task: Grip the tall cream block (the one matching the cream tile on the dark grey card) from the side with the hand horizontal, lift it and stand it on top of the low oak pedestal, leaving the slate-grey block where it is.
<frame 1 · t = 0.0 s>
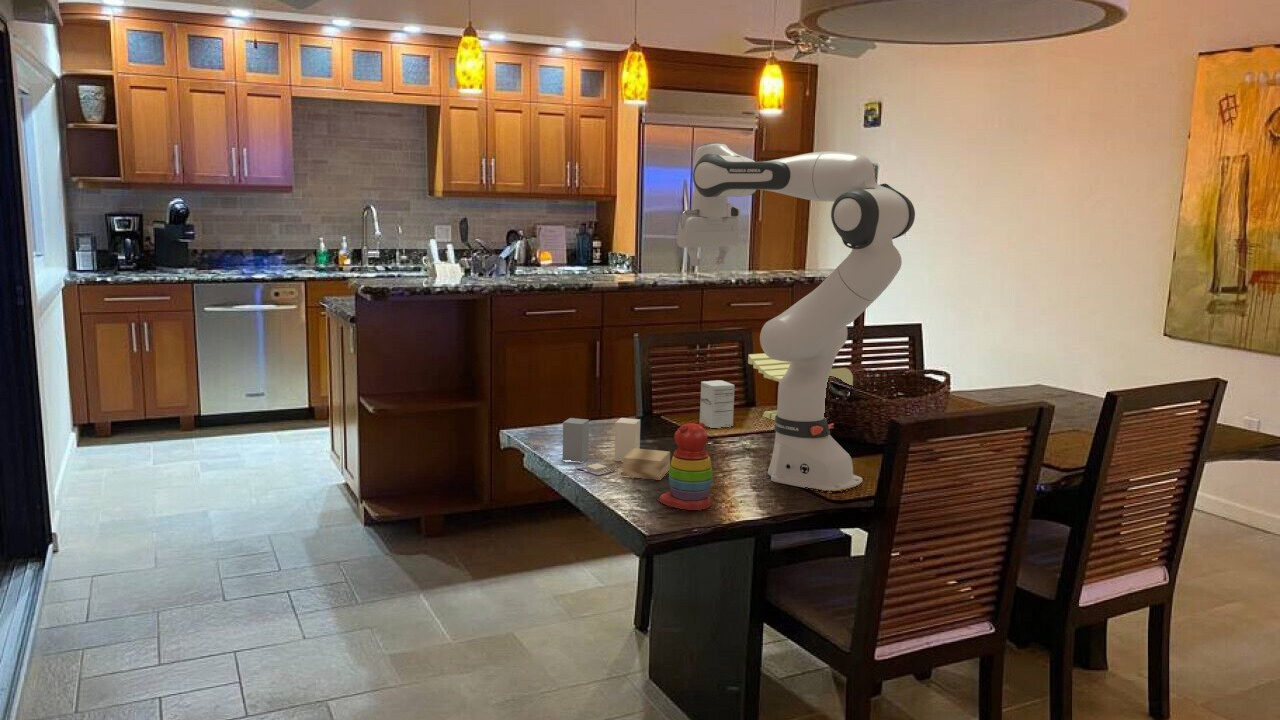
hand: (707, 265, 242), 48 cm above the table, tool pointing down, fingers open, 8 cm apart
cream block: (627, 459, 239), on the table
oak pedestal: (646, 475, 227), on the table
grey block: (575, 460, 237), on the table
supplement box: (716, 426, 277), on the table
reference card: (596, 470, 229), on the table
stacking bear: (688, 504, 205), on the table
slatted curved stool: (796, 419, 287), on the table
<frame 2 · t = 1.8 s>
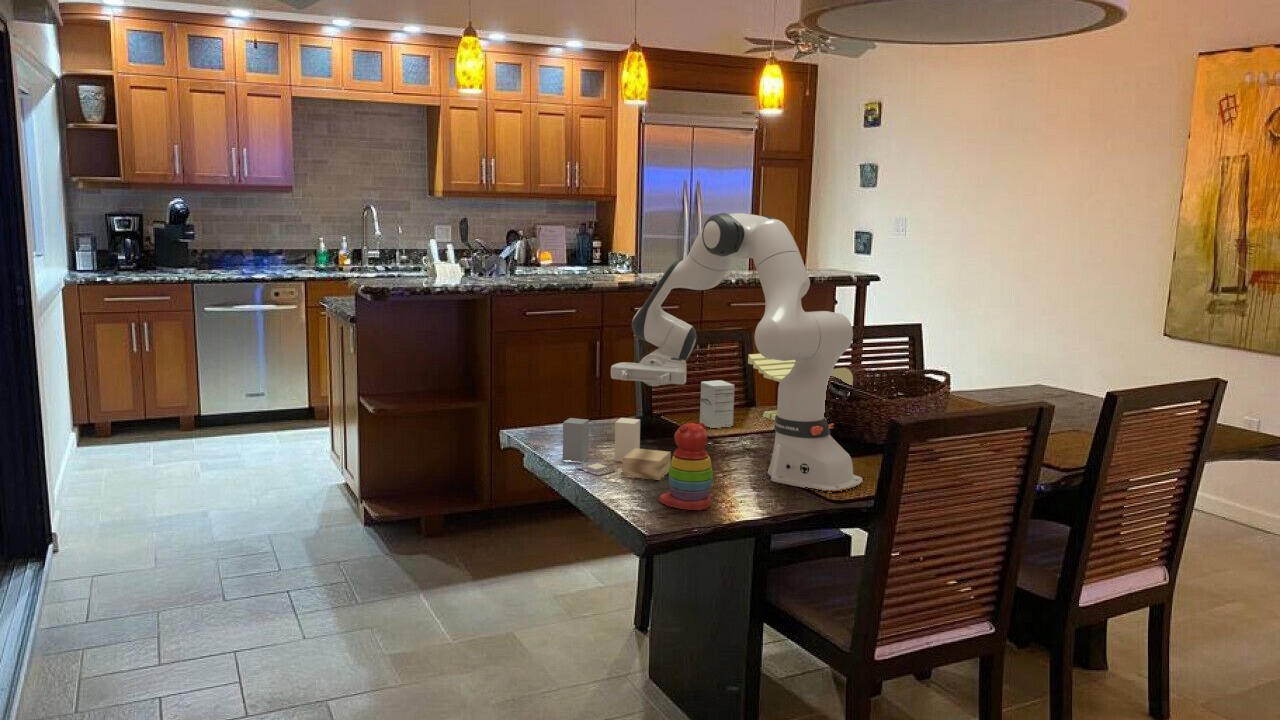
hand: (641, 378, 247), 18 cm above the table, tool horizontal, fingers open, 8 cm apart
nothing on the table moved.
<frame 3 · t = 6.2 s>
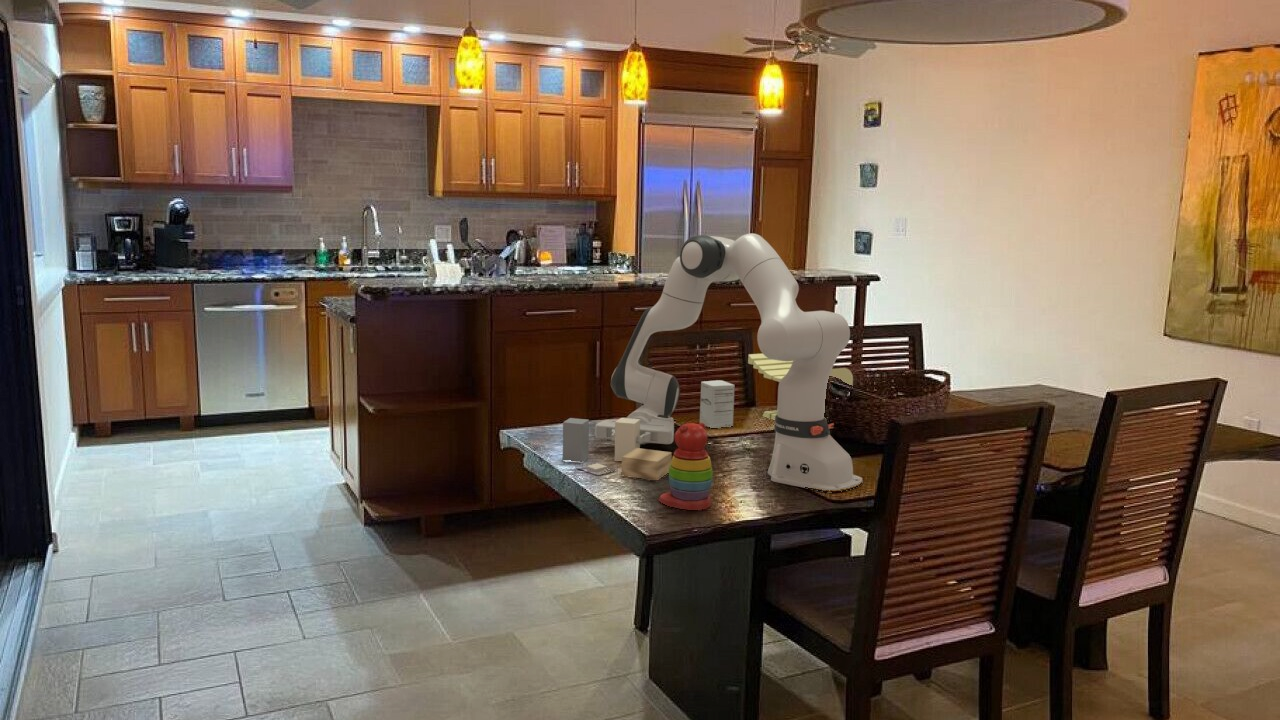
hand: (626, 439, 237), 6 cm above the table, tool horizontal, fingers closed on cream block, 5 cm apart
cream block: (627, 459, 239), on the table, touching gripper
everything else where it was.
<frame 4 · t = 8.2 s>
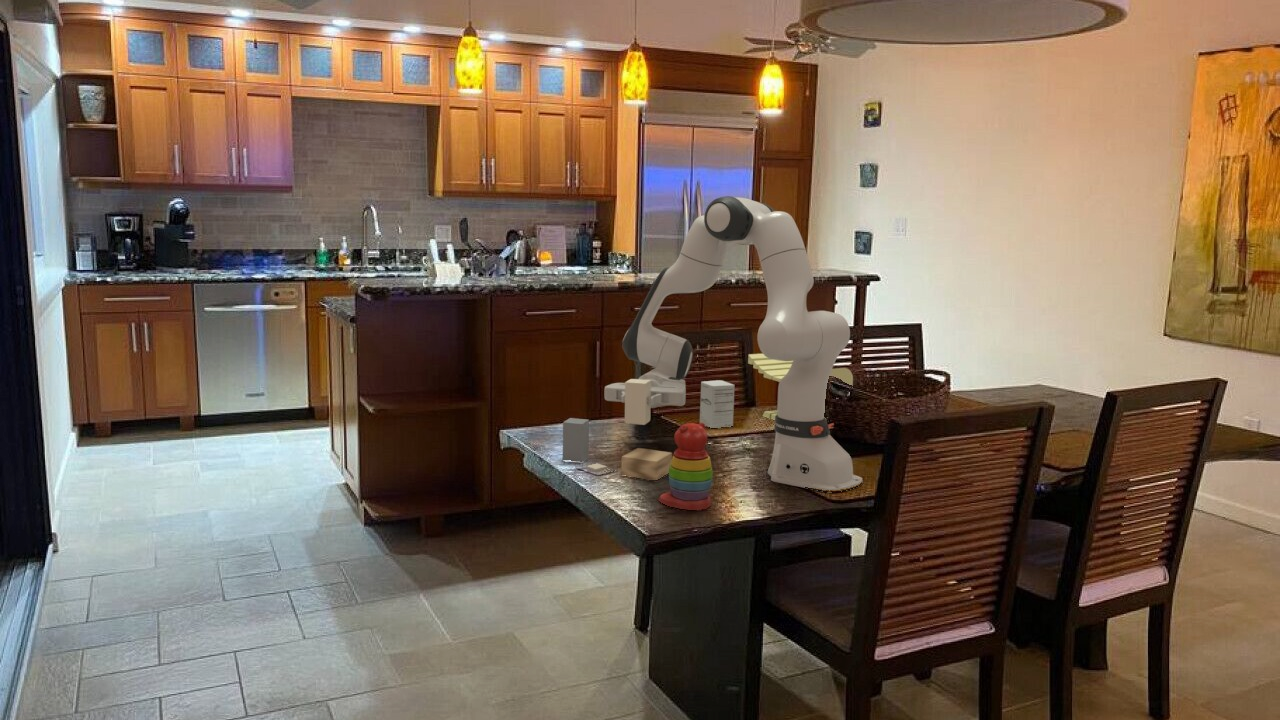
hand: (637, 400, 230), 17 cm above the table, tool horizontal, fingers closed on cream block, 5 cm apart
cream block: (637, 421, 231), point 11 cm above the table, touching gripper
everything else where it was.
when the fingers open (12 cm above the table, at t = 10.3 s): cream block drops 1 cm, resting on oak pedestal.
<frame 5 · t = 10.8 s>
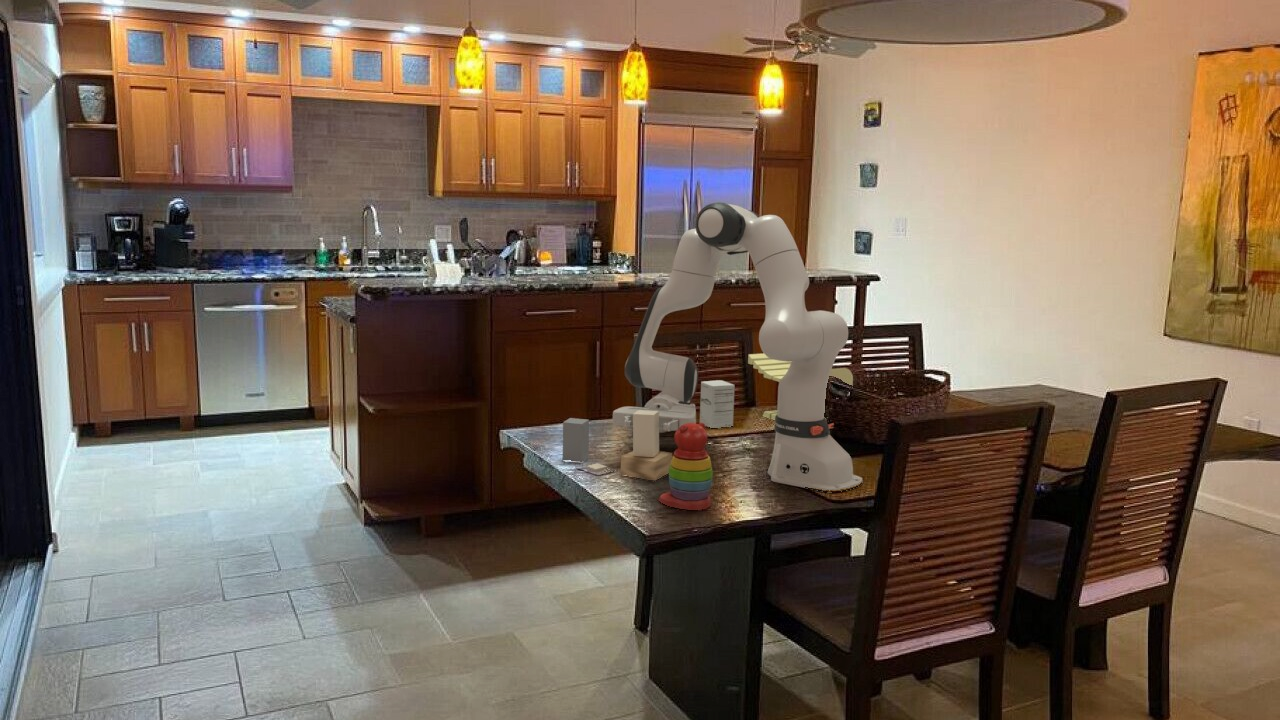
hand: (646, 426, 224), 12 cm above the table, tool horizontal, fingers open, 8 cm apart
cream block: (646, 454, 226), point 5 cm above the table, touching oak pedestal
oak pedestal: (646, 475, 227), on the table, touching cream block
everything else where it was.
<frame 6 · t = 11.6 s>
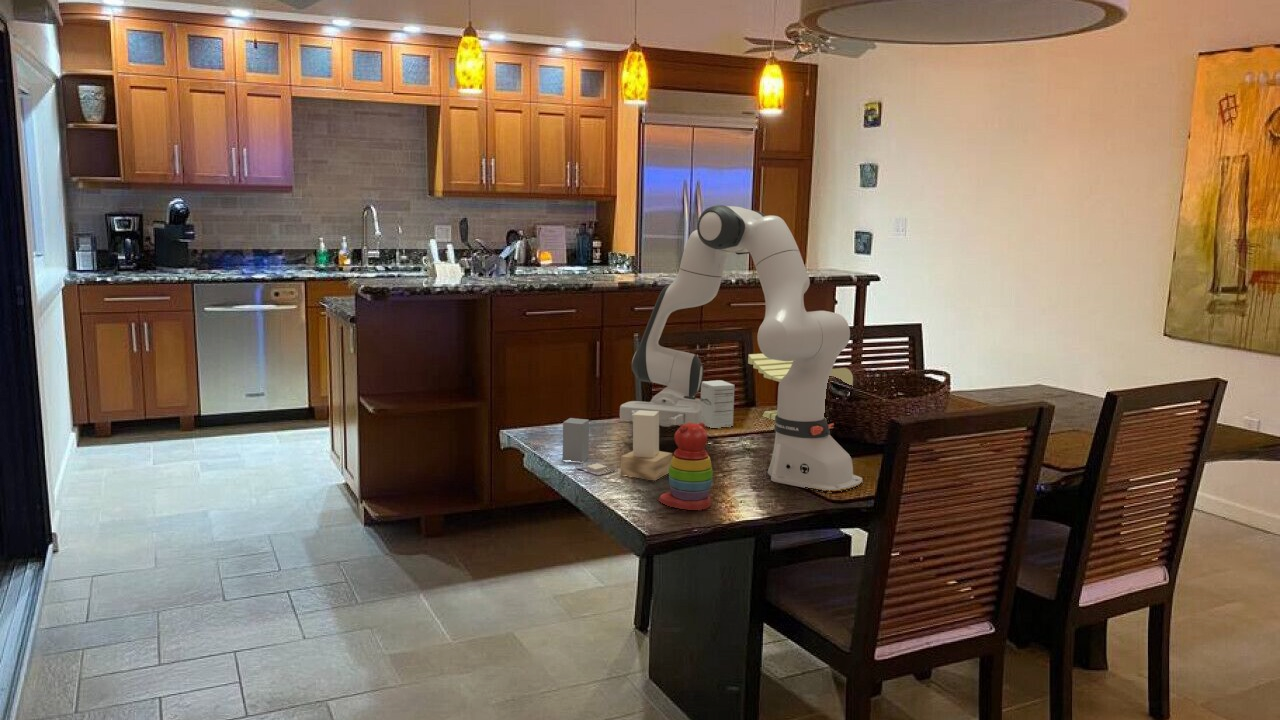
hand: (653, 420, 230), 12 cm above the table, tool horizontal, fingers open, 8 cm apart
nothing on the table moved.
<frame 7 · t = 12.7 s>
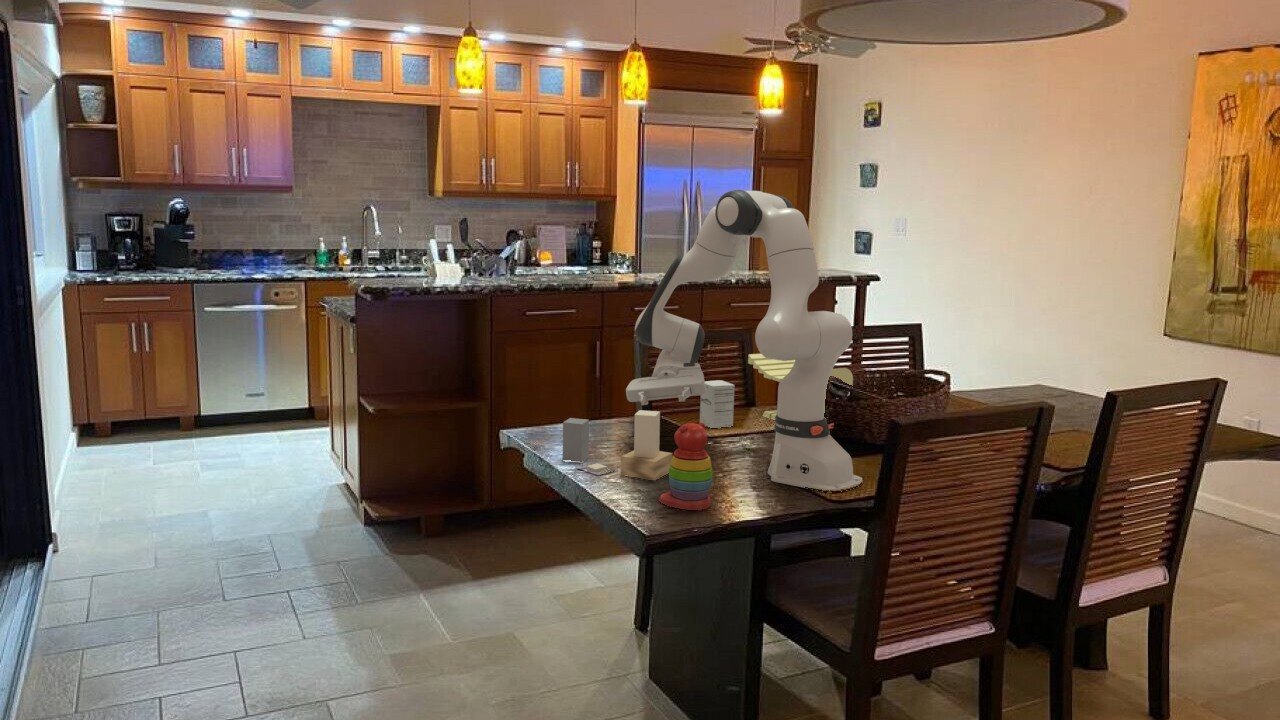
hand: (662, 400, 236), 15 cm above the table, tool horizontal, fingers open, 8 cm apart
cream block: (646, 454, 226), point 5 cm above the table
oak pedestal: (646, 475, 227), on the table
everything else where it was.
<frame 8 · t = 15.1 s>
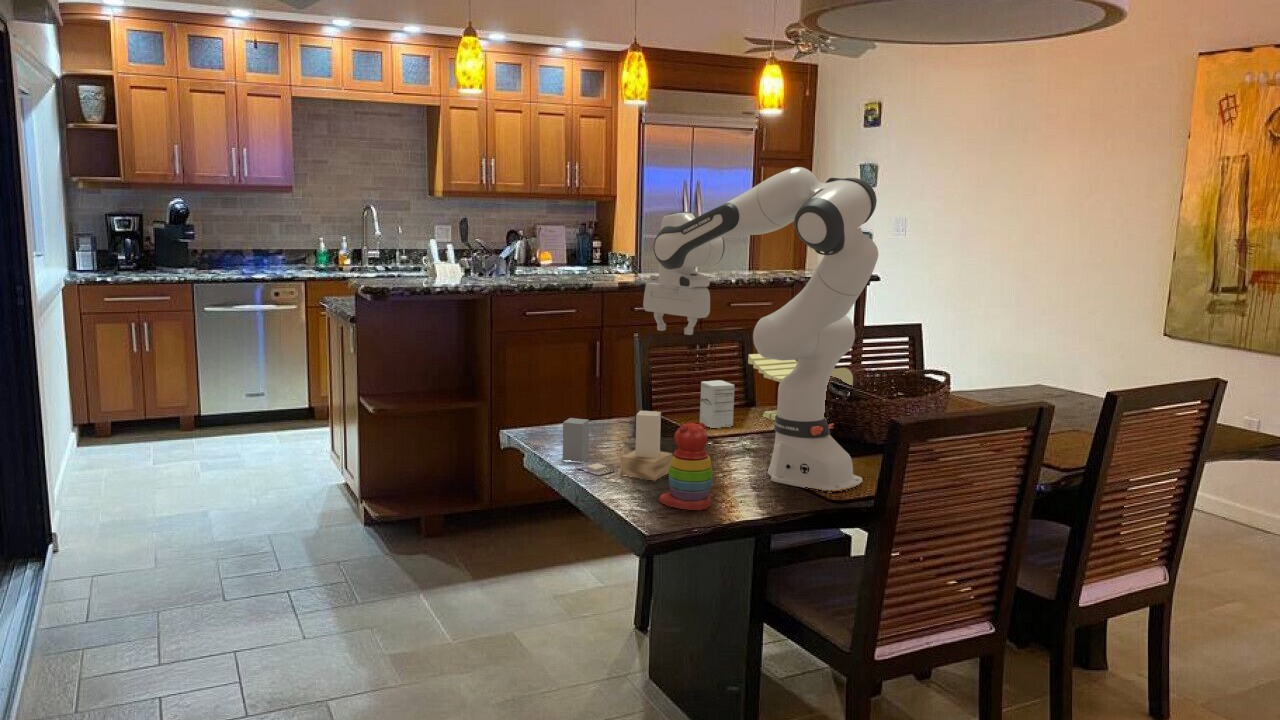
hand: (674, 332, 242), 31 cm above the table, tool pointing down, fingers open, 8 cm apart
cream block: (647, 454, 226), point 5 cm above the table, touching oak pedestal
oak pedestal: (646, 475, 227), on the table, touching cream block
everything else where it was.
at the end: cream block 0.1 cm off-centre on the oak pedestal, point 5.0 cm above the oak pedestal's base; cream block tilted 1°; the gripper is holding nothing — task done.
